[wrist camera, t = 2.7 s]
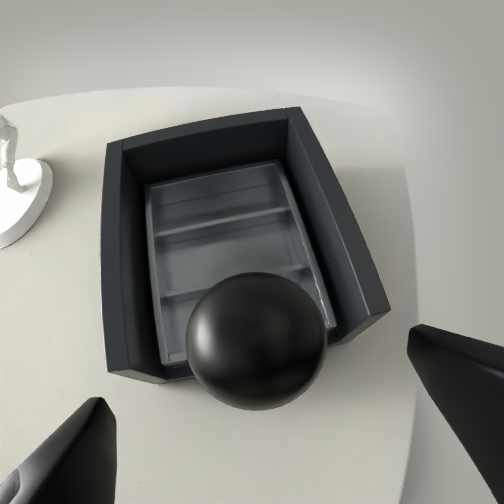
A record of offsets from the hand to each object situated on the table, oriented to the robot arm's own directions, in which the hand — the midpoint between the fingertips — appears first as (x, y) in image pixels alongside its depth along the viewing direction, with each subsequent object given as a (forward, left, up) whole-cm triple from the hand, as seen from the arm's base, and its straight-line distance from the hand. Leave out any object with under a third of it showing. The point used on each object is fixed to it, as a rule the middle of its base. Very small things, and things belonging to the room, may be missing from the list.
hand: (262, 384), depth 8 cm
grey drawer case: (+7, 0, -8) cm, 11 cm away
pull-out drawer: (+6, 0, -7) cm, 9 cm away
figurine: (+17, +18, -9) cm, 27 cm away
